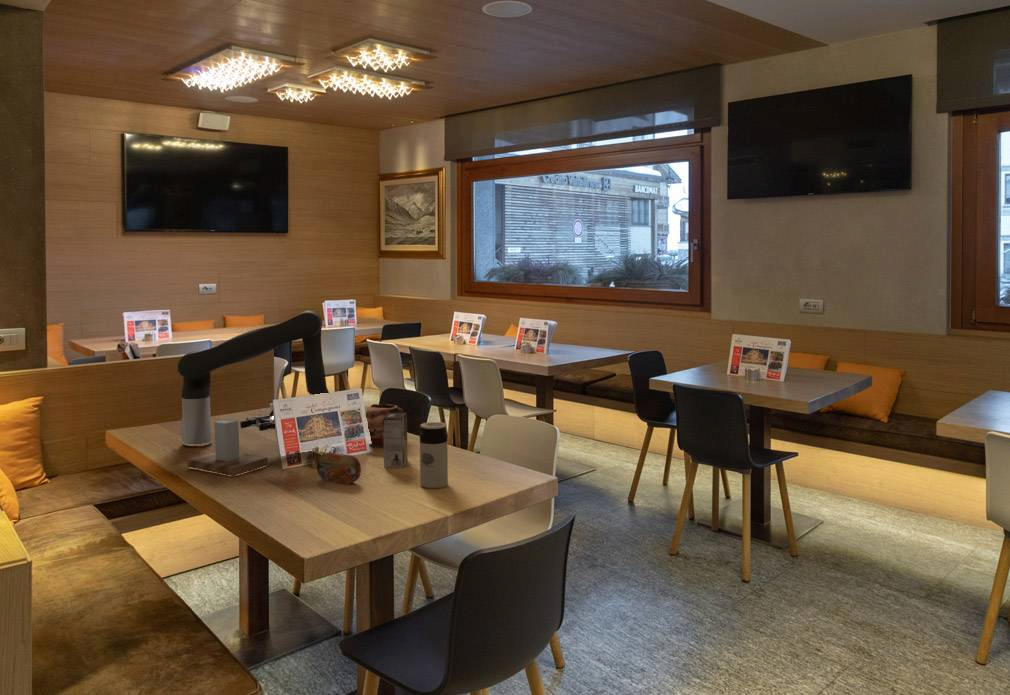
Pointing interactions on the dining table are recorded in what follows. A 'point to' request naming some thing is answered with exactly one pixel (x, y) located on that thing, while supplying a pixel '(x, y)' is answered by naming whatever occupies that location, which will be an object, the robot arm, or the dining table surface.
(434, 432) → the travel mug
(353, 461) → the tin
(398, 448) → the coffee box
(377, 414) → the decorative planter
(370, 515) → the dining table surface
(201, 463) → the walnut plinth
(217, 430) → the slate block
